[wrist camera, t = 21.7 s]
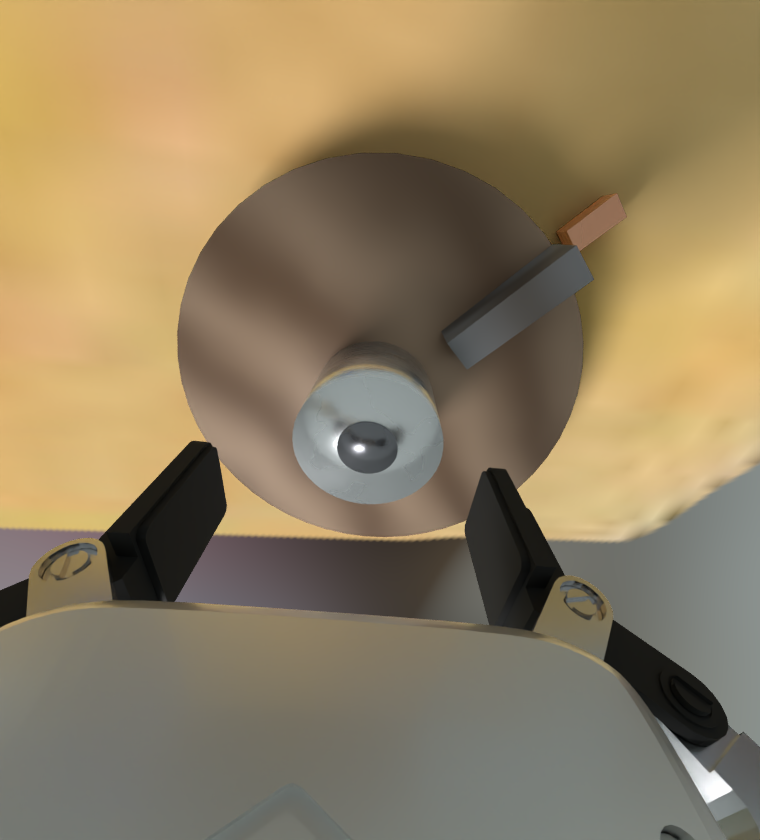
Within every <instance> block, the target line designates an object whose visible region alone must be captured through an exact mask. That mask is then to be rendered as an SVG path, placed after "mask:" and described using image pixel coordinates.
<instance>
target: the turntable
mask: <svg viewBox="0 0 760 840" xmlns="http://www.w3.org/2000/svg"><path fill="white" fill-rule="evenodd" d="M593 280H594V278H593V276H592V274H591V273H590V271H589V269H588V267H587V265H586V263H585V261H584V259H583V257H582V255H581V253H580V251H579V249H578V247H577V245H558V244H552V245H551V244H550V242H549V240H548V239H547V237H546V236H545V234H544V233H543V232H542V231H541V230H540V229H539V227H538V226H537V225H536V224H535V223H534V222H533V221H532V220H531V219H530V217H529V216H528V215H527V214H526V213H525V212H524V211H523V210H522V209H521V208H520V207H519V206H517V205H516V204H515V203H514V202H512V201H511V200H510V199H508V198H507V197H506V196H505V195H503V194H502V193H501V192H500V191H498V190H497V189H496V188H494V187H492V186H491V185H489V184H487V183H485V182H483V181H482V180H480V179H478V178H476V177H474V176H473V175H471V174H469V173H467V172H465V171H463V170H460V169H457V168H454V167H451V166H449V165H446V164H443V163H440V162H437V161H434V160H431V159H426V158H420V157H414V156H409V155H403V154H398V153H358V154H352V155H345V156H339V157H332V158H326V159H323V160H320V161H317V162H314V163H311V164H308V165H305V166H302V167H299V168H296V169H294V170H292V171H290V172H288V173H286V174H284V175H282V176H280V177H278V178H277V179H275V180H273V181H271V182H269V183H267V184H265V185H264V186H262V187H261V188H260V189H258V190H257V191H256V192H254V193H253V194H252V195H251V196H249V197H248V198H247V199H245V200H244V201H243V202H241V203H240V204H239V205H238V206H237V207H236V208H235V209H234V210H233V211H232V212H231V213H230V214H229V215H228V216H227V218H226V219H225V220H224V221H223V222H222V223H221V224H220V225H219V226H218V227H217V228H216V230H215V231H214V233H213V234H212V236H211V237H210V239H209V240H208V242H207V243H206V245H205V246H204V248H203V249H202V251H201V252H200V254H199V257H198V259H197V261H196V263H195V265H194V267H193V270H192V272H191V274H190V276H189V278H188V282H187V285H186V289H185V292H184V296H183V299H182V303H181V308H180V315H179V323H178V331H177V336H178V361H179V368H180V374H181V381H182V385H183V388H184V391H185V395H186V398H187V402H188V405H189V407H190V409H191V412H192V414H193V416H194V419H195V421H196V423H197V425H198V427H199V429H200V431H201V432H202V434H203V436H204V438H205V439H206V441H207V442H210V443H211V444H212V446H213V447H216V448H217V451H218V457H219V459H220V461H221V462H222V463H223V464H224V465H225V466H226V467H227V468H228V470H229V471H230V472H231V473H232V474H233V475H234V476H235V477H236V478H237V479H238V480H239V481H240V482H242V483H243V484H244V485H245V486H246V487H247V488H248V489H250V490H251V491H252V492H253V493H255V494H256V495H257V496H259V497H260V498H262V499H263V500H265V501H266V502H267V503H269V504H270V505H272V506H274V507H276V508H277V509H279V510H281V511H283V512H285V513H286V514H288V515H290V516H293V517H295V518H297V519H300V520H302V521H304V522H306V523H309V524H312V525H315V526H318V527H321V528H324V529H328V530H332V531H337V532H341V533H346V534H353V535H360V536H374V537H394V536H408V535H415V534H421V533H427V532H431V531H435V530H439V529H443V528H446V527H449V526H452V525H455V524H458V523H461V522H463V521H465V520H467V517H468V514H469V511H470V508H471V505H472V502H473V498H474V495H475V492H476V489H477V486H478V483H479V479H480V476H481V473H482V472H483V471H487V469H488V468H501V469H506V470H507V472H508V474H509V476H510V478H511V480H512V481H513V483H514V485H515V487H516V489H518V488H519V487H520V486H521V485H522V484H523V483H524V482H525V481H526V480H527V479H528V478H529V477H530V476H531V475H533V473H534V472H535V471H536V470H537V469H538V467H539V466H540V465H541V464H542V463H543V461H544V460H545V459H546V458H547V457H548V455H549V453H550V452H551V450H552V449H553V447H554V446H555V444H556V443H557V441H558V440H559V438H560V436H561V434H562V432H563V430H564V428H565V426H566V424H567V422H568V420H569V418H570V415H571V412H572V409H573V406H574V403H575V400H576V397H577V394H578V389H579V384H580V378H581V373H582V364H583V334H582V325H581V315H580V311H579V308H578V304H577V300H576V296H575V293H576V292H577V291H579V290H580V289H581V288H583V287H584V286H586V285H587V284H589V283H590V282H591V281H593ZM369 341H376V342H384V343H389V344H392V345H395V346H398V347H400V348H402V349H404V350H405V351H407V352H409V353H410V354H411V355H412V356H414V357H415V358H416V359H417V360H418V361H419V362H420V364H421V365H422V366H423V368H424V369H425V371H426V373H427V375H428V377H429V380H430V383H431V387H432V392H433V396H434V400H435V404H436V408H437V412H438V416H439V420H440V424H441V428H442V433H443V453H442V458H441V461H440V464H439V466H438V468H437V470H436V472H435V473H434V474H433V476H432V477H431V479H430V480H429V481H428V482H427V483H426V484H425V485H424V486H422V487H421V488H420V489H419V490H417V491H416V492H414V493H413V494H411V495H409V496H407V497H405V498H402V499H399V500H397V501H393V502H389V503H382V504H360V503H353V502H349V501H346V500H343V499H340V498H337V497H335V496H333V495H331V494H329V493H327V492H325V491H324V490H322V489H321V488H319V487H318V486H317V485H316V484H314V483H313V482H312V481H311V480H310V479H309V478H308V476H307V475H306V474H305V473H304V471H303V470H302V468H301V467H300V465H299V463H298V461H297V458H296V456H295V452H294V449H293V441H292V437H293V428H294V423H295V420H296V417H297V415H298V413H299V411H300V409H301V408H302V406H303V404H304V402H305V400H306V398H307V397H308V395H309V393H310V391H311V389H312V388H313V386H314V384H315V382H316V380H317V379H318V377H319V375H320V373H321V371H322V370H323V368H324V366H325V365H326V363H327V362H328V361H329V360H330V359H331V358H332V357H333V356H334V355H335V354H336V353H338V352H339V351H340V350H342V349H344V348H346V347H348V346H350V345H353V344H356V343H361V342H369Z"/></svg>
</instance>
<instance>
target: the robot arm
mask: <svg viewBox="0 0 760 840" xmlns="http://www.w3.org/2000/svg"><path fill="white" fill-rule="evenodd" d="M226 507H227V504H226V498H225V492H224V486H223V480H222V474H221V469H220V463H219V457H218V451H217V448H216V447H213V446H212V444H211V443H210V442H200V441H191V442H190V443H189V444H188V445H187V446H186V447H185V448H184V449H183V450H182V451H181V452H180V454H179V455H178V456H177V457H176V458H175V459H174V460H173V461H172V462H171V463H170V464H169V465H168V466H167V467H166V468H165V469H164V471H163V472H162V473H161V474H160V475H159V476H158V477H157V478H156V479H155V480H154V481H153V482H152V483H151V484H150V485H149V486H148V488H147V489H146V490H145V491H144V492H143V493H142V494H141V495H140V496H139V497H138V498H137V499H136V500H135V501H134V502H133V503H132V505H131V506H130V507H129V508H128V509H127V510H126V511H125V512H124V513H123V514H122V515H121V516H120V517H119V518H118V519H117V520H116V522H115V523H114V524H113V525H112V526H111V527H110V528H109V529H108V530H107V531H106V532H105V533H104V534H103V535H102V536H101V538H100V539H99V540H98V539H93V538H83V539H77V540H73V541H70V542H67V543H64V544H62V545H59V546H57V547H55V548H54V549H52V550H51V551H49V552H47V553H46V554H45V555H43V556H42V557H41V558H40V559H39V560H38V561H37V562H36V563H35V565H34V566H33V567H32V569H31V572H30V575H29V579H26V580H24V581H21V582H19V583H17V584H14V585H12V586H10V587H7V588H5V589H2V590H0V840H760V747H759V746H758V745H757V744H756V743H755V742H754V741H753V740H752V739H751V738H750V737H749V736H748V735H746V734H745V733H744V732H742V733H740V734H738V733H737V732H735V731H734V730H733V729H732V728H731V727H730V726H729V725H728V721H727V717H726V714H725V712H724V710H723V708H722V706H721V705H720V703H719V702H718V700H717V699H716V697H715V696H714V695H713V693H712V692H711V691H710V690H709V689H708V688H707V687H706V686H705V685H704V684H703V683H702V682H701V681H699V680H698V679H697V678H696V677H694V676H693V675H692V674H691V673H689V672H688V671H686V670H685V669H684V668H682V667H681V666H679V665H678V664H676V663H675V662H673V661H672V660H670V659H669V658H667V657H666V656H665V655H663V654H662V653H660V652H659V651H657V650H656V649H655V648H653V647H652V646H650V645H649V644H647V643H646V642H644V641H643V640H642V639H640V638H639V637H637V636H636V635H634V634H633V633H631V632H630V631H629V630H627V629H626V628H624V627H623V626H621V625H620V624H618V623H617V622H616V621H614V620H613V611H612V608H611V605H610V603H609V602H608V600H607V599H606V598H605V596H604V595H603V594H602V593H601V592H600V591H599V590H598V589H597V588H596V587H595V586H593V585H592V584H590V583H589V582H587V581H585V580H583V579H581V578H578V577H574V576H565V575H564V573H563V571H562V569H561V567H560V565H559V563H558V562H557V560H556V558H555V556H554V554H553V552H552V550H551V548H550V546H549V545H548V543H547V541H546V539H545V537H544V535H543V533H542V531H541V529H540V527H539V526H538V524H537V522H536V520H535V518H534V516H533V514H532V513H531V511H530V510H529V509H528V508H526V507H525V505H524V503H523V501H522V499H521V497H520V495H519V493H518V491H517V489H516V487H515V485H514V483H513V481H512V480H511V478H510V476H509V474H508V472H507V470H506V469H501V468H488V469H487V471H483V472H482V473H481V476H480V479H479V483H478V486H477V489H476V492H475V495H474V498H473V502H472V505H471V508H470V511H469V514H468V517H467V521H466V524H465V536H466V539H467V543H468V547H469V551H470V554H471V558H472V562H473V566H474V569H475V573H476V577H477V581H478V584H479V588H480V592H481V596H482V599H483V603H484V607H485V611H486V614H487V618H488V622H489V625H483V624H471V623H462V622H451V621H439V620H425V619H412V618H400V617H388V616H375V615H361V614H347V613H334V612H318V611H306V610H291V609H278V608H262V607H246V606H232V605H218V604H203V603H185V602H175V600H176V599H177V597H178V595H179V593H180V592H181V590H182V588H183V586H184V585H185V583H186V581H187V579H188V578H189V576H190V574H191V572H192V571H193V569H194V567H195V565H196V564H197V562H198V560H199V558H200V557H201V555H202V553H203V552H204V550H205V548H206V546H207V545H208V543H209V541H210V539H211V538H212V536H213V534H214V532H215V531H216V529H217V527H218V525H219V524H220V522H221V520H222V518H223V517H224V515H225V512H226Z"/></svg>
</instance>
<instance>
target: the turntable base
mask: <svg viewBox="0 0 760 840" xmlns="http://www.w3.org/2000/svg"><path fill="white" fill-rule="evenodd" d="M626 217H627V216H626V214H625V211H624V209H623V206H622V204H621V201H620V199H619V197H618V194H617V193H615V194H610V195H605V196H602V197H601V198H599V199H598V200H597V201H596V202H594V203H593V204H592V205H590V206H589V207H588V208H586V209H585V210H584V211H583V212H581V213H580V214H579V215H577V216H576V217H575V218H573V219H572V220H571V221H569V222H568V223H567V224H566V225H564V226H563V227H562V228H560V229H559V230H558V231H556V233H557V235H558V237H559V239H560V241H561V243H562V245H577V247H578V249H579V251H581V250H582V249H583V248H585V247H586V246H587V245H589V244H590V243H592V242H593V241H594V240H596V239H597V238H598V237H600V236H601V235H603V234H604V233H605V232H607V231H608V230H609V229H611V228H612V227H614V226H615V225H616V224H618V223H619V222H620V221H622V220H623V219H625V218H626Z"/></svg>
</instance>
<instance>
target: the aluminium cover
mask: <svg viewBox="0 0 760 840" xmlns="http://www.w3.org/2000/svg"><path fill="white" fill-rule="evenodd" d="M292 441H293V449H294V452H295V456H296V458H297V461H298V463H299V465H300V467H301V468H302V470H303V471H304V473H305V474H306V475H307V476H308V478H309V479H310V480H311V481H312V482H313V483H314V484H316V485H317V486H318V487H319V488H321V489H322V490H324V491H325V492H327V493H329V494H331V495H333V496H335V497H337V498H340V499H343V500H346V501H349V502H353V503H360V504H382V503H389V502H393V501H397V500H399V499H402V498H405V497H407V496H409V495H411V494H413V493H414V492H416V491H417V490H419V489H420V488H421V487H422V486H424V485H425V484H426V483H427V482H428V481H429V480H430V479H431V477H432V476H433V474H434V473H435V472H436V470H437V468H438V466H439V464H440V461H441V458H442V453H443V433H442V428H441V424H440V420H439V416H438V412H437V408H436V404H435V400H434V396H433V392H432V387H431V383H430V380H429V377H428V375H427V373H426V371H425V369H424V368H423V366H422V365H421V364H420V362H419V361H418V360H417V359H416V358H415V357H414V356H412V355H411V354H410V353H409V352H407V351H405V350H404V349H402V348H400V347H398V346H395V345H392V344H389V343H384V342H376V341H369V342H361V343H356V344H353V345H350V346H348V347H346V348H344V349H342V350H340V351H339V352H338V353H336V354H335V355H334V356H333V357H332V358H331V359H330V360H329V361H328V362H327V363H326V365H325V366H324V368H323V370H322V371H321V373H320V375H319V377H318V379H317V380H316V382H315V384H314V386H313V388H312V389H311V391H310V393H309V395H308V397H307V398H306V400H305V402H304V404H303V406H302V408H301V409H300V411H299V413H298V415H297V417H296V420H295V423H294V428H293V437H292Z"/></svg>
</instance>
